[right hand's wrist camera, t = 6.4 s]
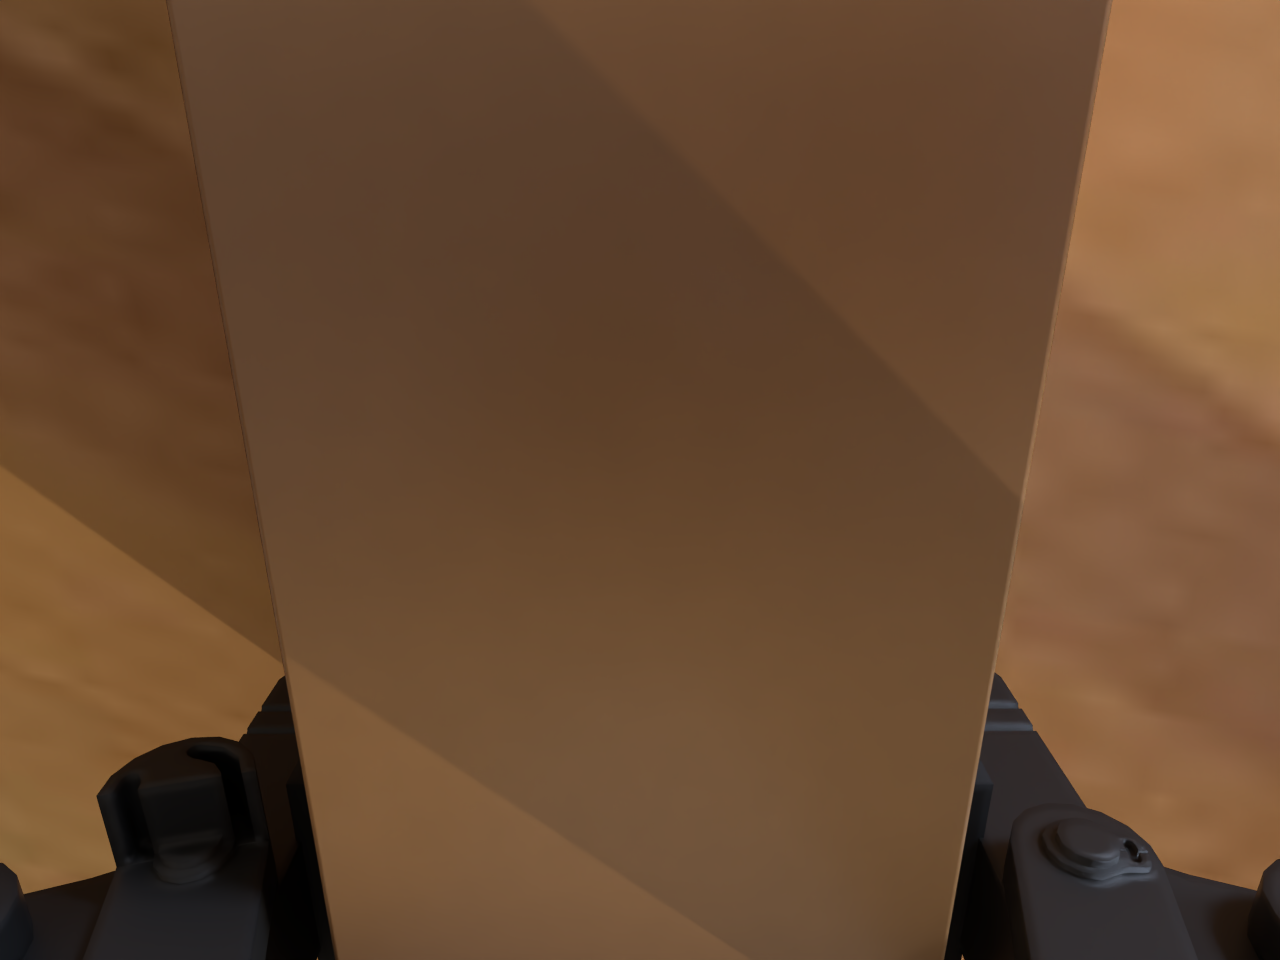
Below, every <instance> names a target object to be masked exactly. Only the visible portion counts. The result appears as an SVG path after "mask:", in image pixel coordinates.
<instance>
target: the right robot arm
mask: <svg viewBox="0 0 1280 960" xmlns="http://www.w3.org/2000/svg"><path fill="white" fill-rule="evenodd" d="M1032 726H1033V725H1032V724H1031V722H1030V721H1029V719H1028V718H1027V716H1026V715H1025V713H1024V712H1023V710H1022V709H1019V708H1018V702H1017V701H1016V699H1015V698H1014V696H1013V695H1012V693H1011V692H1010V690H1009V689H1008V687H1007V686H1006V684H1005V683H1004V681H1003V680H1002V678H1001V677H1000V676H999V675H997V674H996V673H995V672H994V678H993V683H992V689H991V695H990V700H989V706H988V712H987V718H986V723H985V729H984V735H983V740H982V746H981V752H980V757H979V763H978V769H977V774H976V780H975V786H974V792H973V797H972V803H971V809H970V814H969V820H968V826H967V831H966V837H965V843H964V849H963V854H962V860H961V866H960V871H959V877H958V883H957V888H956V894H955V900H954V905H953V911H952V917H951V923H950V928H949V934H948V940H947V945H946V951H945V957H944V960H961V958H962V954H963V957H964V959H965V960H1280V859H1278V860H1276V861H1275V862H1274V863H1273V864H1272V865H1270V866H1269V867H1268V868H1267V869H1266V870H1265V871H1264V872H1263V875H1262V878H1261V881H1260V884H1259V887H1258V890H1257V891H1256V890H1251V889H1247V888H1243V887H1239V886H1235V885H1230V884H1226V883H1222V882H1218V881H1213V880H1209V879H1205V878H1201V877H1196V876H1192V875H1188V874H1185V873H1182V872H1179V871H1175V870H1172V869H1169V868H1166V867H1163V865H1162V863H1161V862H1160V860H1159V859H1158V857H1157V855H1156V854H1155V852H1154V851H1153V849H1152V847H1151V846H1150V845H1149V844H1148V843H1147V842H1146V841H1145V840H1143V839H1142V838H1141V837H1140V836H1139V835H1138V834H1136V833H1135V832H1134V831H1133V830H1132V829H1131V828H1129V827H1128V826H1126V825H1124V824H1123V823H1121V822H1119V821H1117V820H1115V819H1113V818H1111V817H1109V816H1107V815H1105V814H1104V813H1102V812H1099V811H1095V810H1092V809H1088V808H1086V806H1085V805H1084V803H1083V802H1082V800H1081V799H1080V797H1079V796H1078V794H1077V792H1076V791H1075V789H1074V788H1073V786H1072V785H1071V783H1070V782H1069V780H1068V779H1067V777H1066V776H1065V774H1064V773H1063V771H1062V770H1061V768H1060V767H1059V765H1058V764H1057V762H1056V760H1055V759H1054V757H1053V756H1052V754H1051V753H1050V751H1049V750H1048V748H1047V747H1046V745H1045V744H1044V742H1043V741H1042V739H1041V738H1040V736H1039V735H1038V733H1037V731H1033V728H1032ZM247 730H248V731H247V734H243V736H242V737H241V739H240V740H239V742H237V741H234V740H230V739H226V738H222V737H200V738H189V739H185V740H182V741H178V742H174V743H170V744H166V745H162V746H160V747H158V748H156V749H154V750H152V751H149V752H147V753H145V754H143V755H141V756H139V757H137V758H134V759H133V760H132V761H130V762H129V763H128V764H126V765H125V766H124V767H122V768H121V769H120V770H118V771H117V772H116V773H114V774H113V775H112V776H111V777H110V778H109V779H108V781H107V782H106V784H105V785H104V786H103V788H102V789H101V790H100V792H99V793H98V795H97V800H98V803H99V807H100V810H101V814H102V817H103V821H104V824H105V828H106V831H107V835H108V838H109V842H110V845H111V849H112V852H113V856H114V859H115V863H116V866H117V868H116V871H113V872H110V873H106V874H103V875H100V876H97V877H94V878H90V879H86V880H82V881H77V882H73V883H69V884H65V885H61V886H56V887H52V888H48V889H44V890H40V891H35V892H31V893H27V894H23V892H22V889H21V886H20V883H19V880H18V877H17V875H16V874H15V873H14V872H13V871H11V870H10V869H9V868H8V867H7V866H6V865H5V864H3V863H0V960H317V957H318V960H335V955H334V950H333V944H332V938H331V933H330V927H329V921H328V916H327V910H326V904H325V899H324V893H323V887H322V882H321V876H320V870H319V865H318V859H317V853H316V848H315V842H314V836H313V831H312V825H311V819H310V814H309V808H308V802H307V797H306V791H305V785H304V780H303V774H302V768H301V763H300V757H299V751H298V746H297V740H296V734H295V729H294V723H293V717H292V712H291V706H290V700H289V695H288V689H287V683H286V678H285V676H283V677H282V678H281V679H279V681H278V682H277V684H276V685H275V687H274V688H273V690H272V691H271V693H270V694H269V696H268V698H267V699H266V701H265V702H264V704H263V705H262V711H261V712H258V713H257V714H256V716H255V717H254V719H253V721H252V722H251V724H250V725H249V727H248V728H247Z"/></svg>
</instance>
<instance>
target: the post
mask: <svg viewBox="0 0 1280 960" xmlns="http://www.w3.org/2000/svg"><path fill="white" fill-rule="evenodd" d="M166 3H167V8H168V14H169V20H170V25H171V31H172V37H173V42H174V48H175V54H176V59H177V65H178V71H179V76H180V82H181V88H182V93H183V99H184V105H185V110H186V116H187V122H188V127H189V133H190V139H191V144H192V150H193V156H194V161H195V167H196V173H197V178H198V184H199V190H200V195H201V201H202V207H203V212H204V218H205V224H206V229H207V235H208V241H209V246H210V252H211V258H212V263H213V269H214V275H215V280H216V286H217V292H218V298H219V303H220V309H221V315H222V320H223V326H224V332H225V337H226V343H227V349H228V354H229V360H230V366H231V371H232V377H233V383H234V388H235V394H236V400H237V405H238V411H239V417H240V422H241V428H242V434H243V439H244V445H245V451H246V456H247V462H248V468H249V473H250V479H251V485H252V490H253V496H254V502H255V507H256V513H257V519H258V524H259V530H260V536H261V541H262V547H263V553H264V558H265V564H266V570H267V575H268V581H269V587H270V592H271V598H272V604H273V609H274V615H275V621H276V626H277V632H278V638H279V643H280V649H281V655H282V660H283V666H284V672H285V678H286V683H287V689H288V695H289V700H290V706H291V712H292V717H293V723H294V729H295V734H296V740H297V746H298V751H299V757H300V763H301V768H302V774H303V780H304V785H305V791H306V797H307V802H308V808H309V814H310V819H311V825H312V831H313V836H314V842H315V848H316V853H317V859H318V865H319V870H320V876H321V882H322V887H323V893H324V899H325V904H326V910H327V916H328V921H329V927H330V933H331V938H332V944H333V950H334V955H335V960H944V957H945V951H946V945H947V940H948V934H949V928H950V923H951V917H952V911H953V905H954V900H955V894H956V888H957V883H958V877H959V871H960V866H961V860H962V854H963V849H964V843H965V837H966V831H967V826H968V820H969V814H970V809H971V803H972V797H973V792H974V786H975V780H976V774H977V769H978V763H979V757H980V752H981V746H982V740H983V735H984V729H985V723H986V718H987V712H988V706H989V700H990V695H991V689H992V683H993V678H994V672H995V666H996V661H997V655H998V649H999V643H1000V638H1001V632H1002V626H1003V621H1004V615H1005V609H1006V604H1007V598H1008V592H1009V587H1010V581H1011V575H1012V569H1013V564H1014V558H1015V552H1016V547H1017V541H1018V535H1019V530H1020V524H1021V518H1022V513H1023V507H1024V501H1025V495H1026V490H1027V484H1028V478H1029V473H1030V467H1031V461H1032V456H1033V450H1034V444H1035V438H1036V433H1037V427H1038V421H1039V416H1040V410H1041V404H1042V399H1043V393H1044V387H1045V382H1046V376H1047V370H1048V364H1049V359H1050V353H1051V347H1052V342H1053V336H1054V330H1055V325H1056V319H1057V313H1058V308H1059V302H1060V296H1061V290H1062V285H1063V279H1064V273H1065V268H1066V262H1067V256H1068V251H1069V245H1070V239H1071V233H1072V228H1073V222H1074V216H1075V211H1076V205H1077V199H1078V194H1079V188H1080V182H1081V177H1082V171H1083V165H1084V159H1085V154H1086V148H1087V142H1088V137H1089V131H1090V125H1091V120H1092V114H1093V108H1094V103H1095V97H1096V91H1097V85H1098V80H1099V74H1100V68H1101V63H1102V57H1103V51H1104V46H1105V40H1106V34H1107V28H1108V23H1109V17H1110V11H1111V6H1112V0H166Z"/></svg>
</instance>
